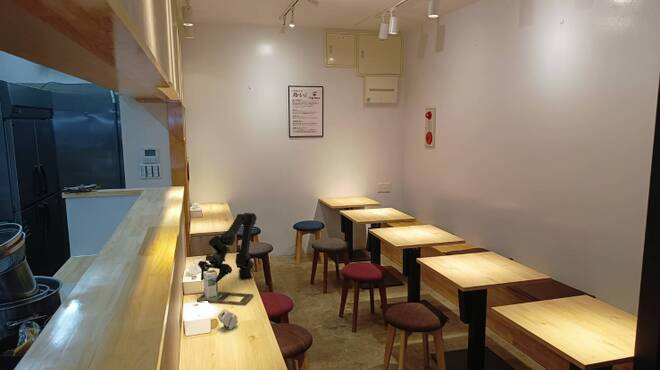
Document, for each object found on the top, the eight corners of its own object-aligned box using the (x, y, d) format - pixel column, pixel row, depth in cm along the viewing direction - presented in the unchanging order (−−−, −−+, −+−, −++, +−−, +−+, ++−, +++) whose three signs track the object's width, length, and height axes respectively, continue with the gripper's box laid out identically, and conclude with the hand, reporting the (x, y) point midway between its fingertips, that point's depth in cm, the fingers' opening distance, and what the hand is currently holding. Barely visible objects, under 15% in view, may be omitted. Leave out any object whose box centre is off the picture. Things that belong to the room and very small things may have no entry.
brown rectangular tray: (253, 296, 236) (253, 294, 236) (245, 305, 225) (245, 302, 225) (207, 293, 241) (207, 290, 241) (197, 301, 230) (196, 299, 230)
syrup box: (207, 300, 231) (206, 274, 229) (204, 297, 236) (203, 271, 234) (218, 298, 234) (217, 272, 232) (214, 294, 239) (213, 269, 237)
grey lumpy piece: (227, 328, 204) (213, 317, 199) (236, 316, 206) (223, 305, 201) (233, 333, 199) (219, 321, 194) (242, 320, 202) (229, 309, 197)
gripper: (198, 246, 238) (186, 272, 229) (228, 249, 231) (216, 276, 222) (208, 256, 246) (197, 281, 238) (237, 259, 239) (226, 286, 231)
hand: (208, 281), depth 232 cm, fingers open, 9 cm apart
